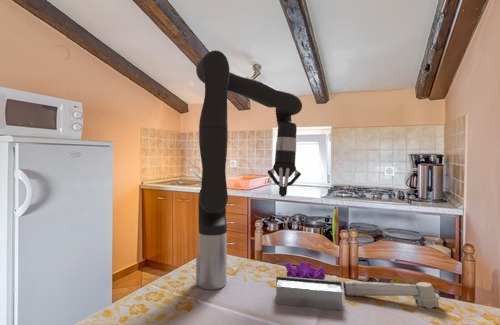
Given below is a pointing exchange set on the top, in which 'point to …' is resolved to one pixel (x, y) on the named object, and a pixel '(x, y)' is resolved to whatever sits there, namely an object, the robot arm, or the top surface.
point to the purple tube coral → (305, 271)
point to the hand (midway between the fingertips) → (282, 196)
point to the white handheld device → (394, 291)
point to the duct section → (309, 292)
